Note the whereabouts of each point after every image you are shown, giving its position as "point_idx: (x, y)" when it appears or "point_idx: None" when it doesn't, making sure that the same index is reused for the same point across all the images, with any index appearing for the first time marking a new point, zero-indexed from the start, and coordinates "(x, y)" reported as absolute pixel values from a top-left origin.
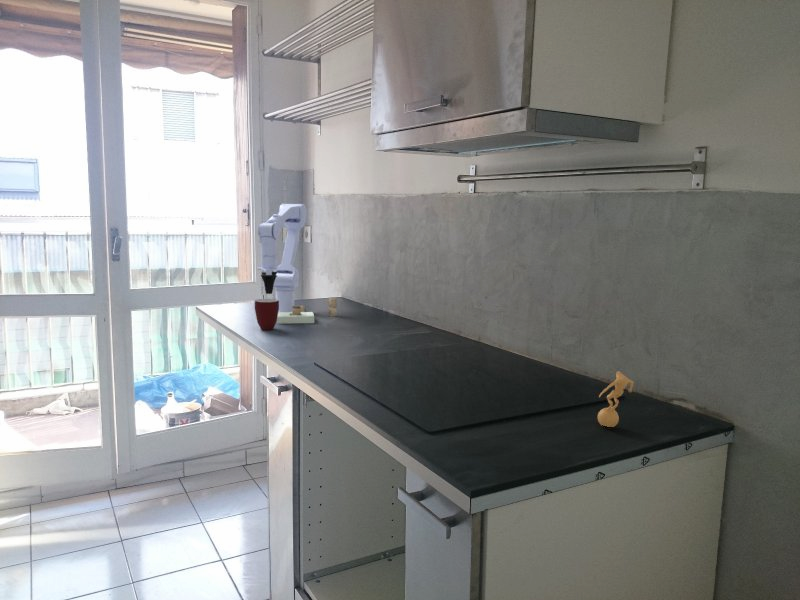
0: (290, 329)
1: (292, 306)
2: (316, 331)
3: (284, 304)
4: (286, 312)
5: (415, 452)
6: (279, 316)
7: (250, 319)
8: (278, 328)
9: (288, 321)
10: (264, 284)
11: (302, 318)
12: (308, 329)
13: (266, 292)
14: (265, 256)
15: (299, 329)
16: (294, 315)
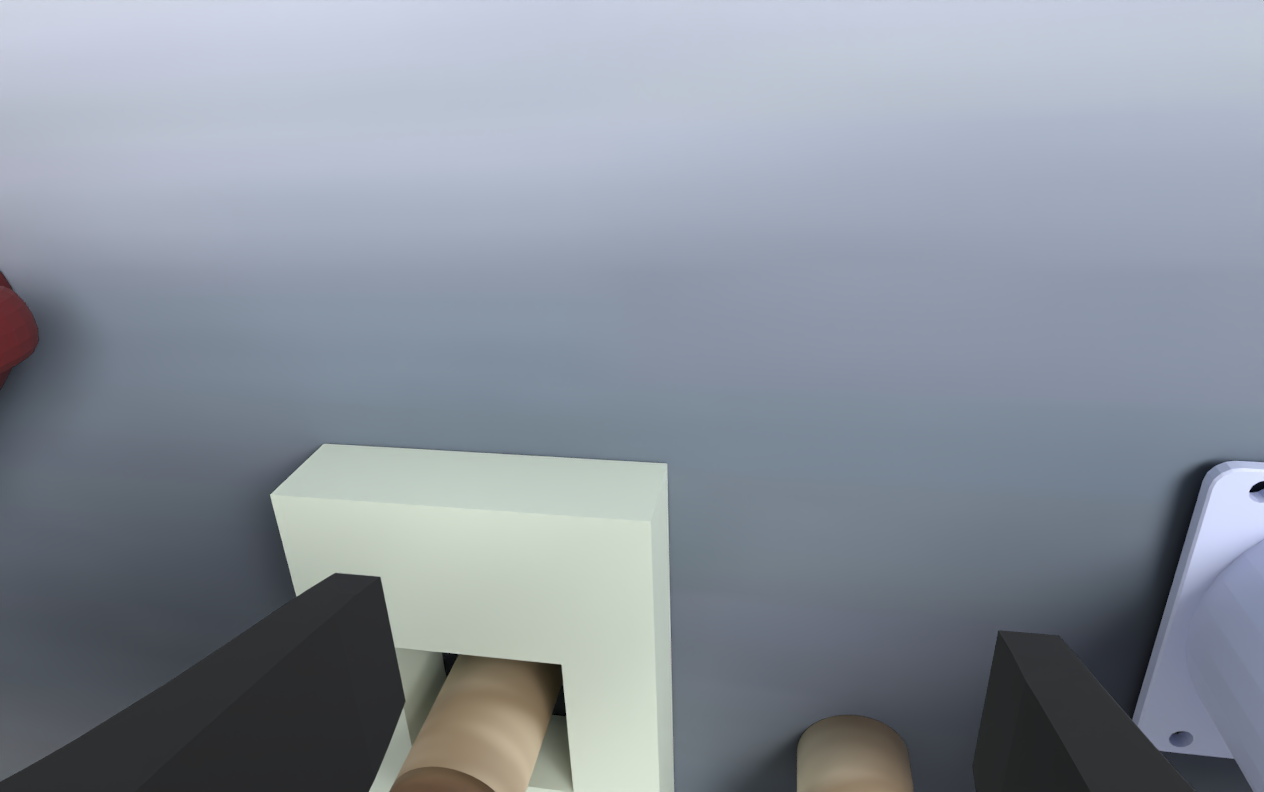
0: (30, 546)
1: (425, 786)
2: (12, 736)
3: (1254, 713)
4: (642, 638)
5: None
6: (298, 518)
7: (664, 14)
8: (44, 432)
9: None
10: (28, 768)
11: None
12: (78, 694)
13: (306, 602)
14: None
15: (55, 624)
16: None
